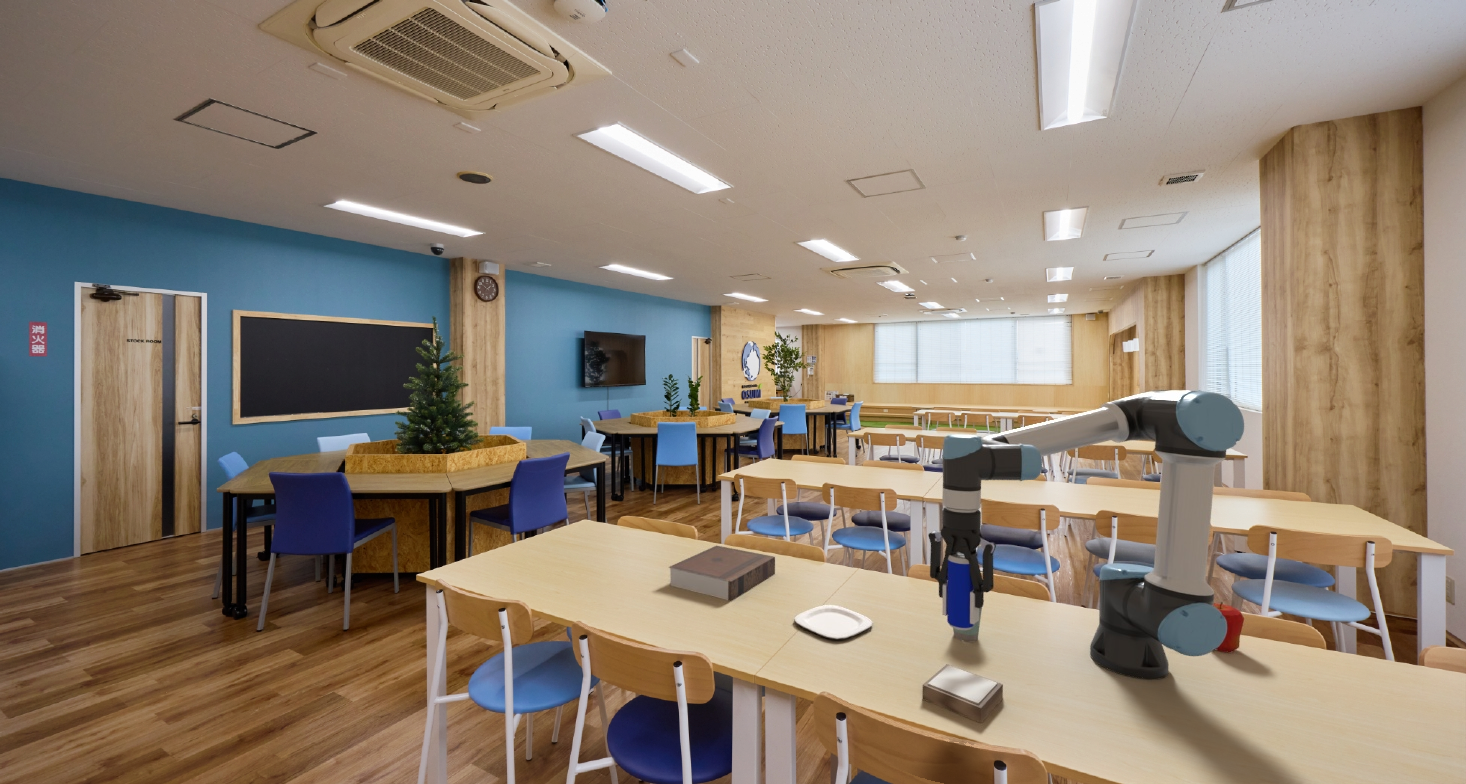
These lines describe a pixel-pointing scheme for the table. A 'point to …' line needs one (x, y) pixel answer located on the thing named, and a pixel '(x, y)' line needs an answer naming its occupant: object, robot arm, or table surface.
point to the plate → (833, 621)
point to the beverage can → (959, 592)
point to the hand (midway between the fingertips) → (960, 617)
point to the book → (722, 572)
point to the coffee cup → (969, 631)
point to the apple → (1230, 627)
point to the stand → (963, 692)
